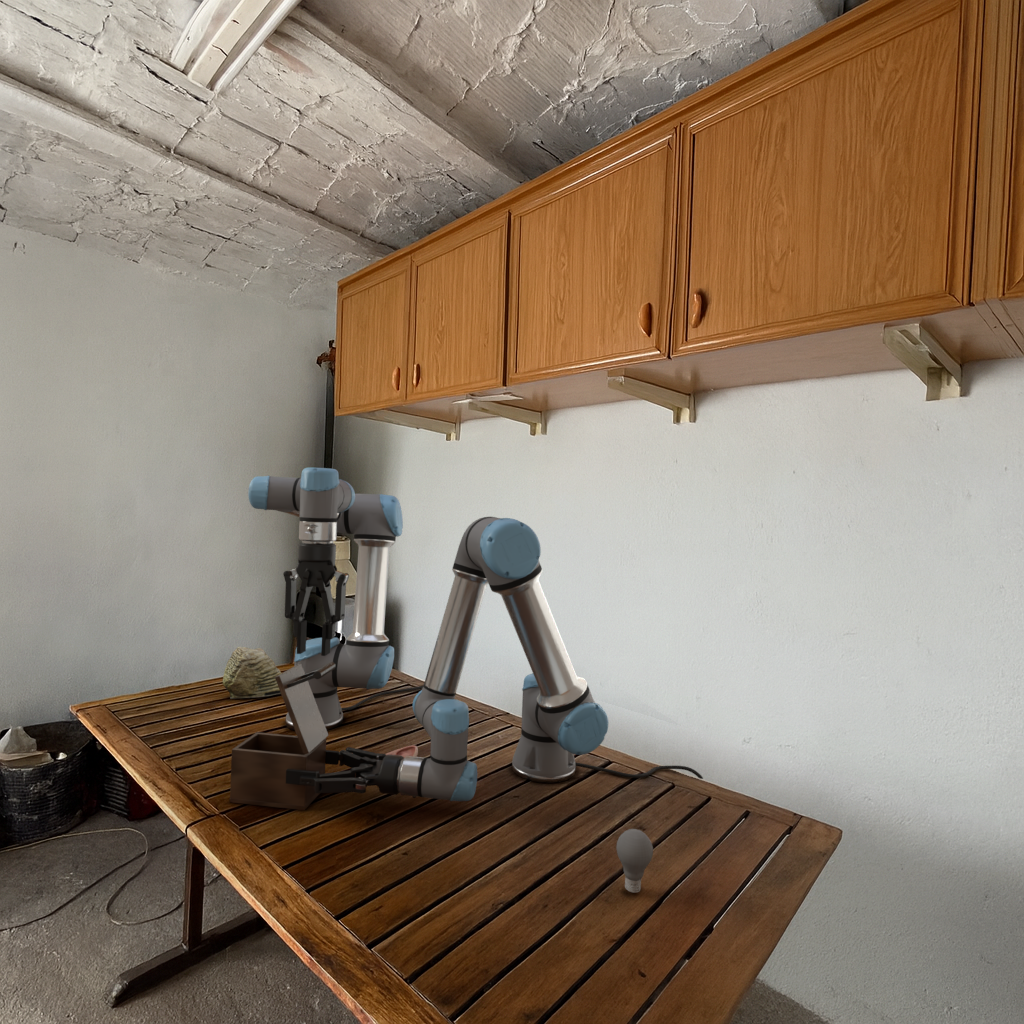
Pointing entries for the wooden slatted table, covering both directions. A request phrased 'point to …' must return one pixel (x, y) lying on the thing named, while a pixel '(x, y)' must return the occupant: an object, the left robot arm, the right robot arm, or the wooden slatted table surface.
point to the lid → (303, 704)
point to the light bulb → (634, 857)
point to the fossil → (250, 674)
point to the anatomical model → (405, 751)
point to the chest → (273, 771)
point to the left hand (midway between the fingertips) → (313, 653)
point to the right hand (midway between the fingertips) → (298, 765)
